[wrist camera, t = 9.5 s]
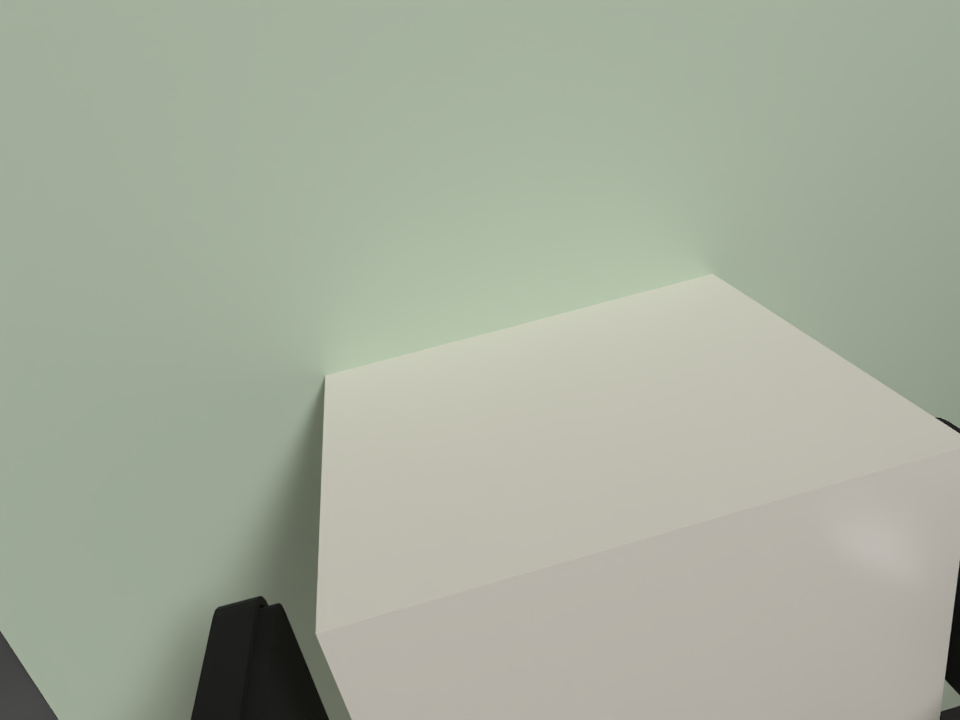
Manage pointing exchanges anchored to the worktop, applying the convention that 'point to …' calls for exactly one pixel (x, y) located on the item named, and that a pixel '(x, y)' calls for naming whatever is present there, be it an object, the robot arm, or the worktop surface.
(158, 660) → the base plate
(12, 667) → the worktop surface
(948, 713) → the worktop surface
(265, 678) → the robot arm
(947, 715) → the worktop surface
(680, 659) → the cream brick
